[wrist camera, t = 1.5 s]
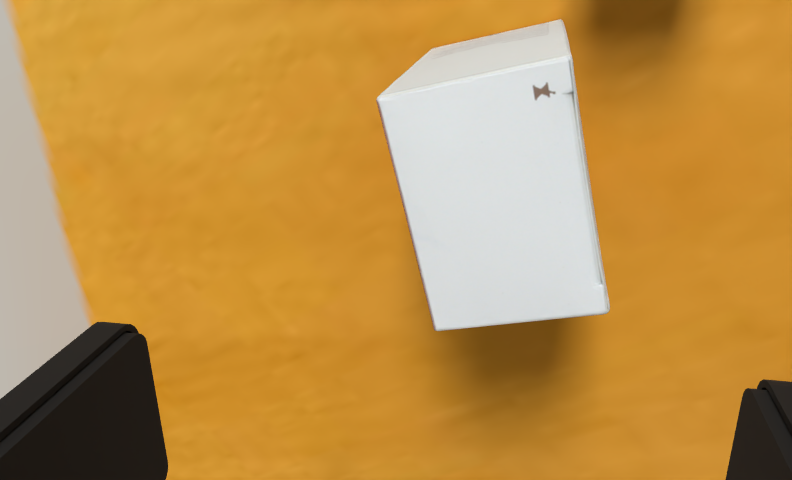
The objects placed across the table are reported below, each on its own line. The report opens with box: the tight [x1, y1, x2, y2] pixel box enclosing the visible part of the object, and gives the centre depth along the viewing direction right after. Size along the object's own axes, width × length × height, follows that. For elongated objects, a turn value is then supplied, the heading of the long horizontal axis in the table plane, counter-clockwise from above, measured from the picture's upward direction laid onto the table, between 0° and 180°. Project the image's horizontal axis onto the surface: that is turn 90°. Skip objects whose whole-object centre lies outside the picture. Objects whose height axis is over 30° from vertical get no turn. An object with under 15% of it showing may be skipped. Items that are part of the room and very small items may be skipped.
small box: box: [376, 19, 610, 331], centre depth 25 cm, size 8×6×10 cm
